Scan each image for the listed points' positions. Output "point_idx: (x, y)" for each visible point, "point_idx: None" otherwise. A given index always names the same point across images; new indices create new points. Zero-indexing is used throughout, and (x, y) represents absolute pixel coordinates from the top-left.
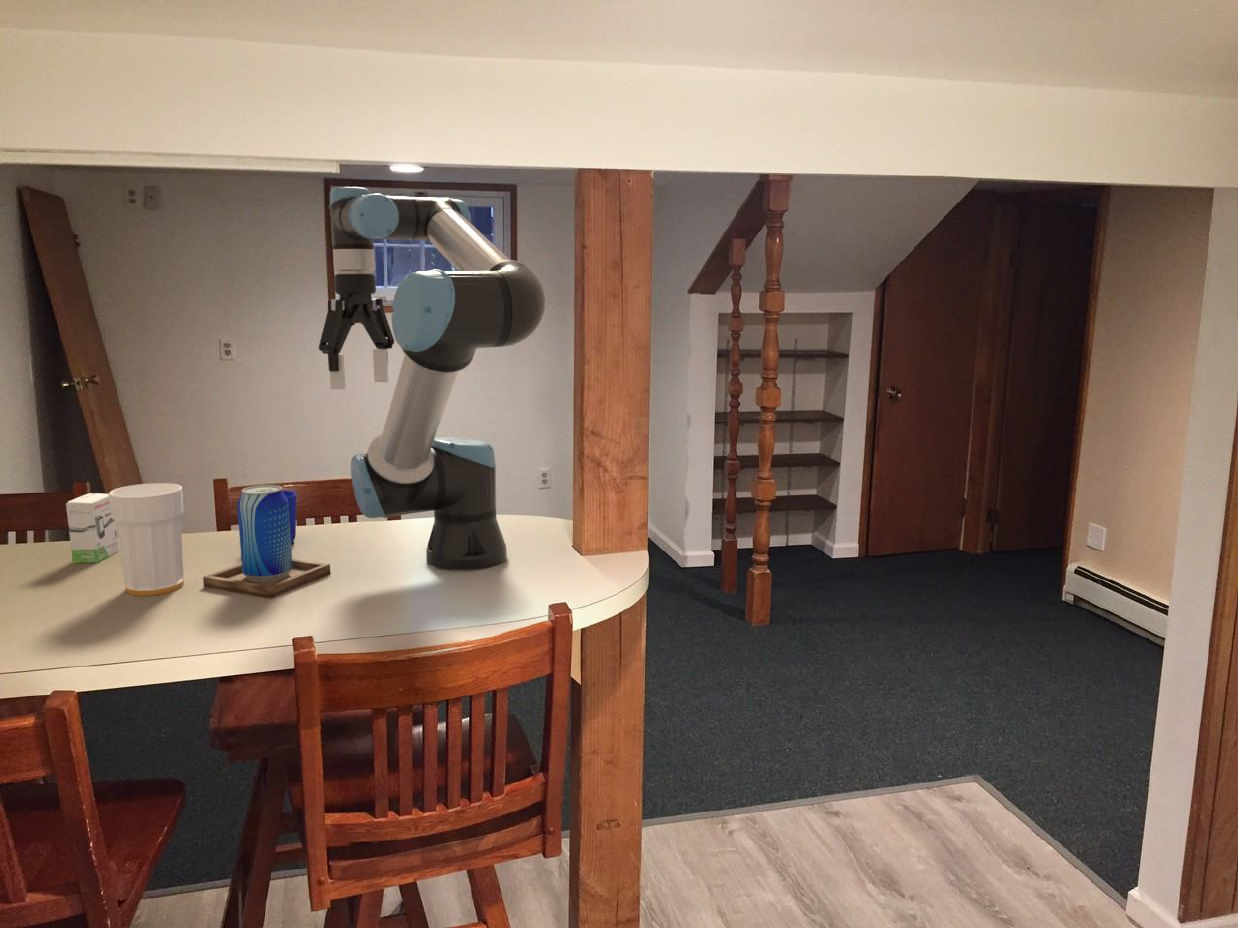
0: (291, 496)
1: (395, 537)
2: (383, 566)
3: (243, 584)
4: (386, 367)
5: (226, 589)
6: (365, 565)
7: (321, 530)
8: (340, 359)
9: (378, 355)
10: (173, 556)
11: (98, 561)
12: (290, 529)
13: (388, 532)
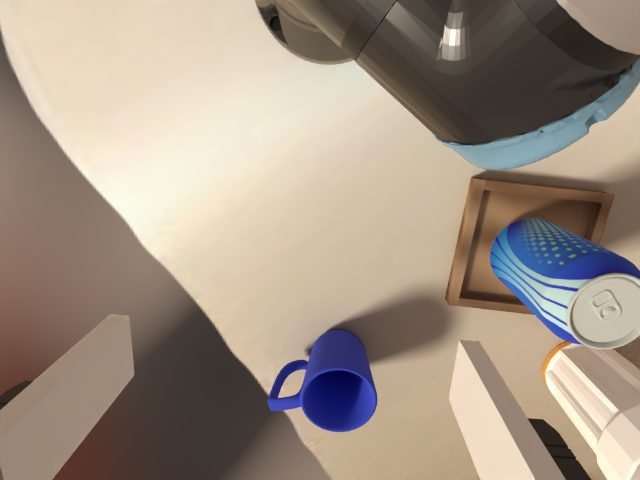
0: (339, 368)
1: (245, 193)
2: (411, 115)
3: (597, 244)
4: (73, 356)
5: None
6: (413, 149)
7: (252, 330)
8: (550, 462)
9: (39, 452)
10: (617, 363)
11: None
12: (342, 338)
13: (221, 222)
